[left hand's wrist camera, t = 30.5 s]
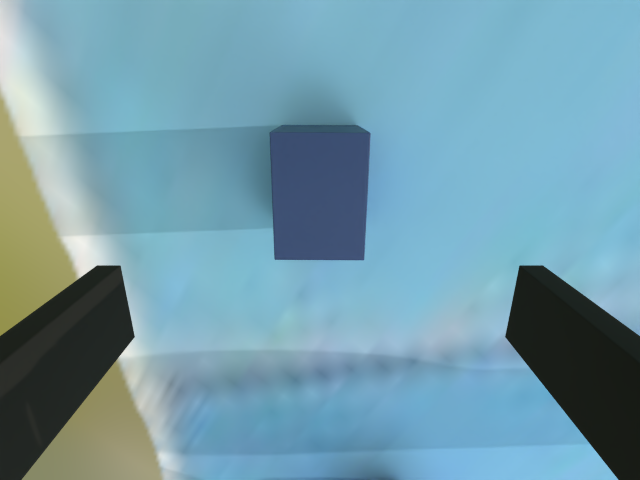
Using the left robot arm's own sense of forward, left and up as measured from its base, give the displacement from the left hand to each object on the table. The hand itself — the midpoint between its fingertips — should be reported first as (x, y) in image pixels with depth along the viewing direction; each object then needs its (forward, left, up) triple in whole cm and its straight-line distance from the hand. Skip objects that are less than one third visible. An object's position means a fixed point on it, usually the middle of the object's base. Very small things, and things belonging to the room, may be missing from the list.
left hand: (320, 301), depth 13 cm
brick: (0, 0, -23) cm, 23 cm away
